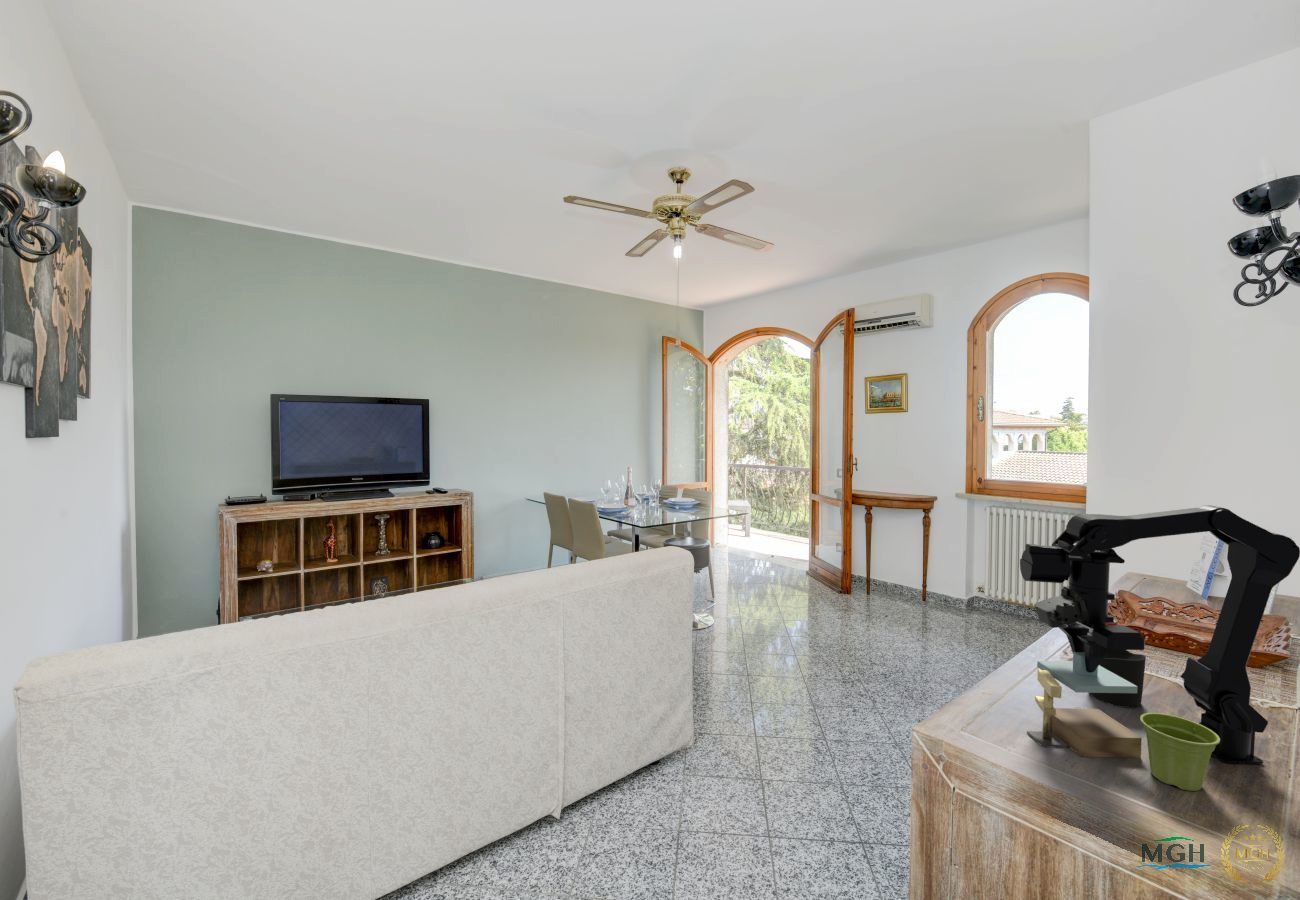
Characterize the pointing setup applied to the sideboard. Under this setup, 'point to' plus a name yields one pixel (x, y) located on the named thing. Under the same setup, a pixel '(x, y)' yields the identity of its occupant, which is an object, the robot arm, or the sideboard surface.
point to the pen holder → (1124, 677)
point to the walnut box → (1090, 734)
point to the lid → (1086, 676)
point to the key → (1047, 700)
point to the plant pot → (1178, 749)
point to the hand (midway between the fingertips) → (1085, 669)
